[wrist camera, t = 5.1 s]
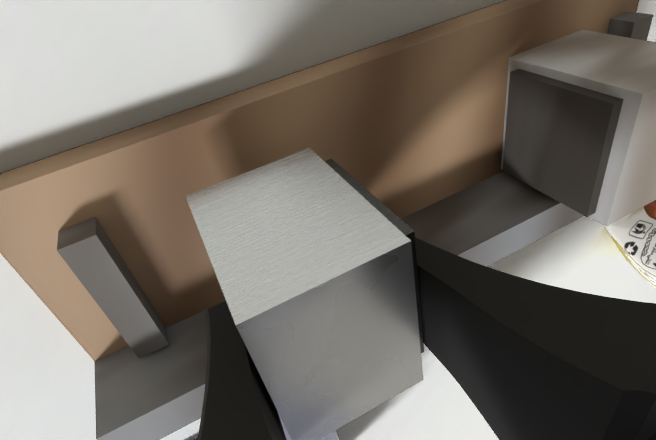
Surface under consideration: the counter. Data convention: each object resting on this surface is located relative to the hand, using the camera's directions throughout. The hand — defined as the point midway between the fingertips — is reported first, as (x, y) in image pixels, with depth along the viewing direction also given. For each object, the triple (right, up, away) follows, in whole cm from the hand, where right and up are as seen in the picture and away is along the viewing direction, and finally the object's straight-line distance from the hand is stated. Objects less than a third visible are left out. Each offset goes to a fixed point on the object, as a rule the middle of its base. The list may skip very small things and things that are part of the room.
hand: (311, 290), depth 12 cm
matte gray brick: (-1, +1, +1) cm, 2 cm away
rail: (+2, +5, +5) cm, 7 cm away
